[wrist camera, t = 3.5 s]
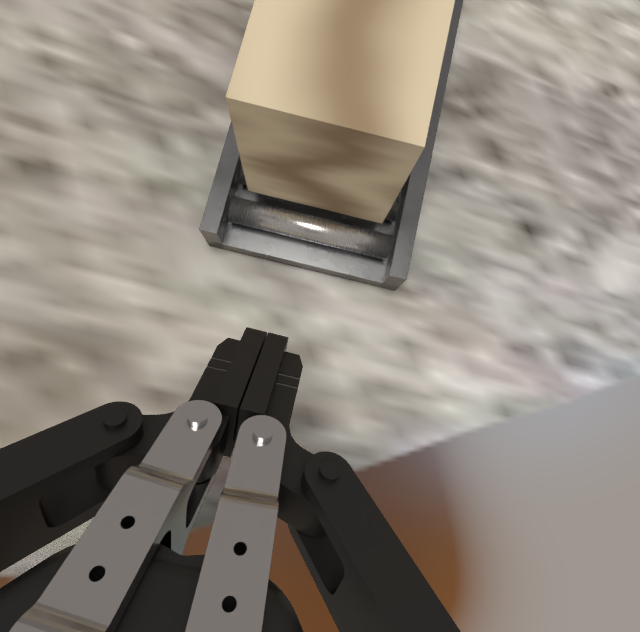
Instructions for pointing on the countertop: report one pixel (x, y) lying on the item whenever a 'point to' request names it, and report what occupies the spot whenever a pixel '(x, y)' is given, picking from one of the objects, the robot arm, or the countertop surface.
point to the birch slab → (336, 98)
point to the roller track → (323, 216)
